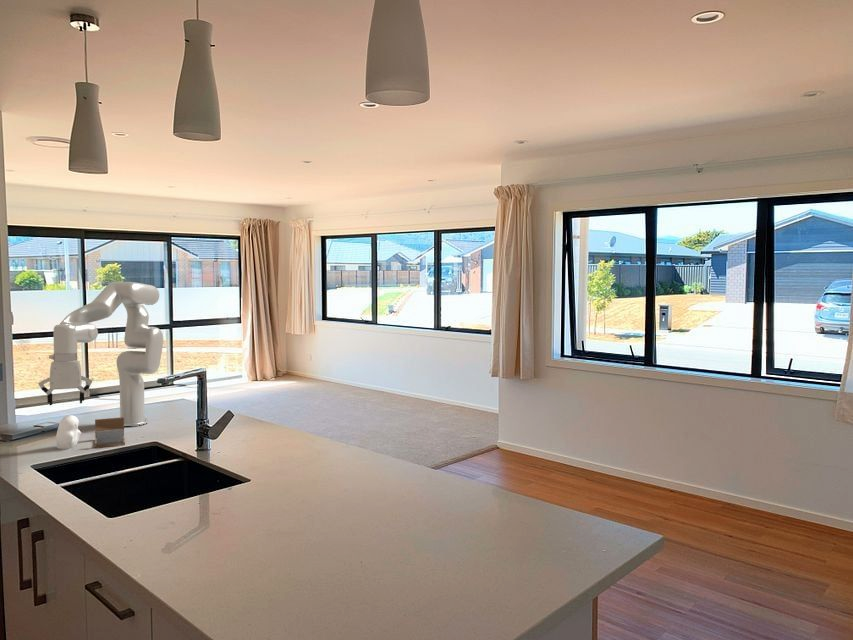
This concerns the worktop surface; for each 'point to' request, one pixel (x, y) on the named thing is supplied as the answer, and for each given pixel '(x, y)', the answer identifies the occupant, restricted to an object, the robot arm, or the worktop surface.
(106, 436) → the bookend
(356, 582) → the worktop surface
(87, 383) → the robot arm
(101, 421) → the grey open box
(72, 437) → the figurine
